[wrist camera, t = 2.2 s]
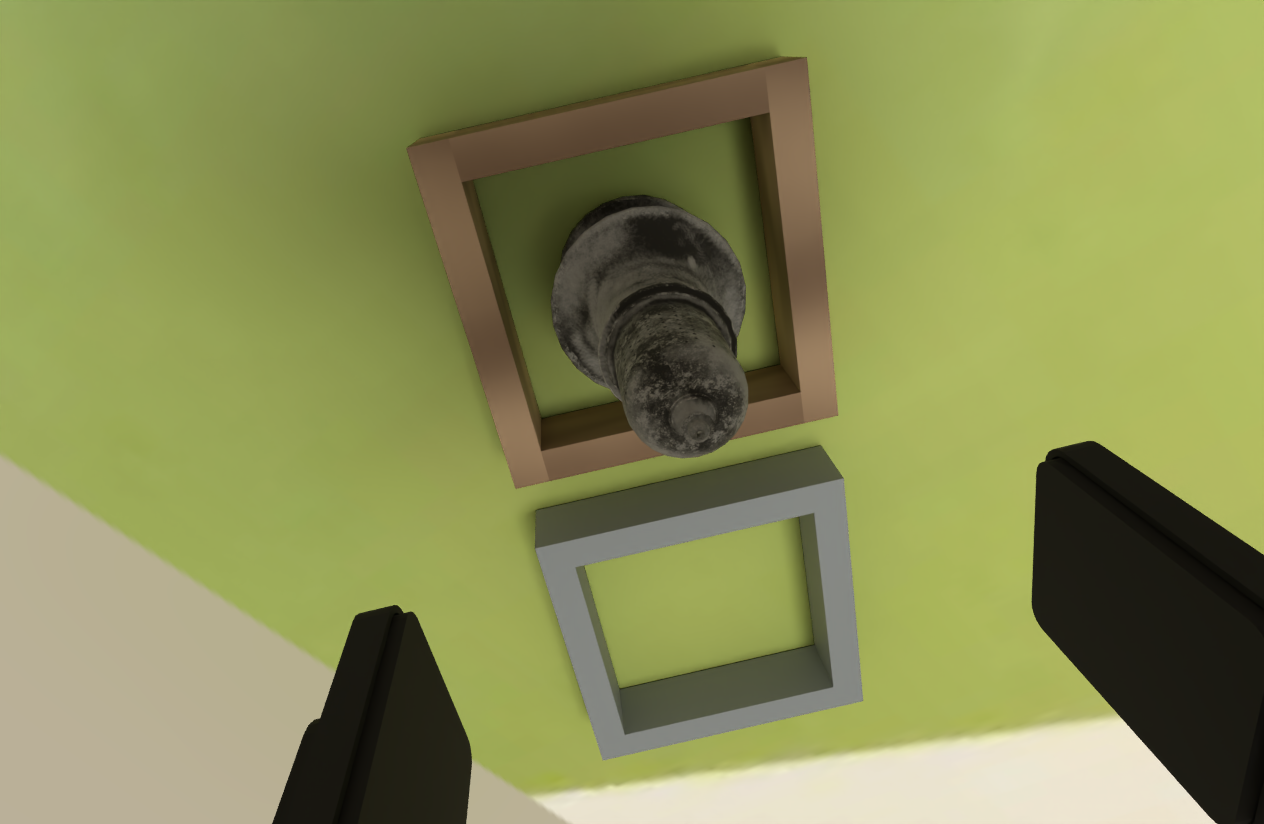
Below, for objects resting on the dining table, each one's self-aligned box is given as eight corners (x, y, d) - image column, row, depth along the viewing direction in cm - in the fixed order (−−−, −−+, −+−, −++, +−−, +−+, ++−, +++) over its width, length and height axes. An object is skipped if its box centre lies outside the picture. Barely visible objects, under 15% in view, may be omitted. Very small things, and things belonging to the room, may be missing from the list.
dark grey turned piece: (598, 381, 27) (631, 597, 17) (518, 235, 25) (496, 380, 14) (746, 310, 27) (881, 487, 16) (681, 153, 24) (788, 238, 13)
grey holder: (536, 510, 29) (535, 548, 27) (821, 445, 29) (843, 478, 27) (599, 713, 34) (602, 760, 32) (842, 658, 34) (862, 701, 32)
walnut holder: (419, 138, 23) (406, 148, 21) (781, 56, 23) (806, 57, 21) (518, 453, 28) (515, 488, 26) (814, 386, 28) (838, 415, 26)
